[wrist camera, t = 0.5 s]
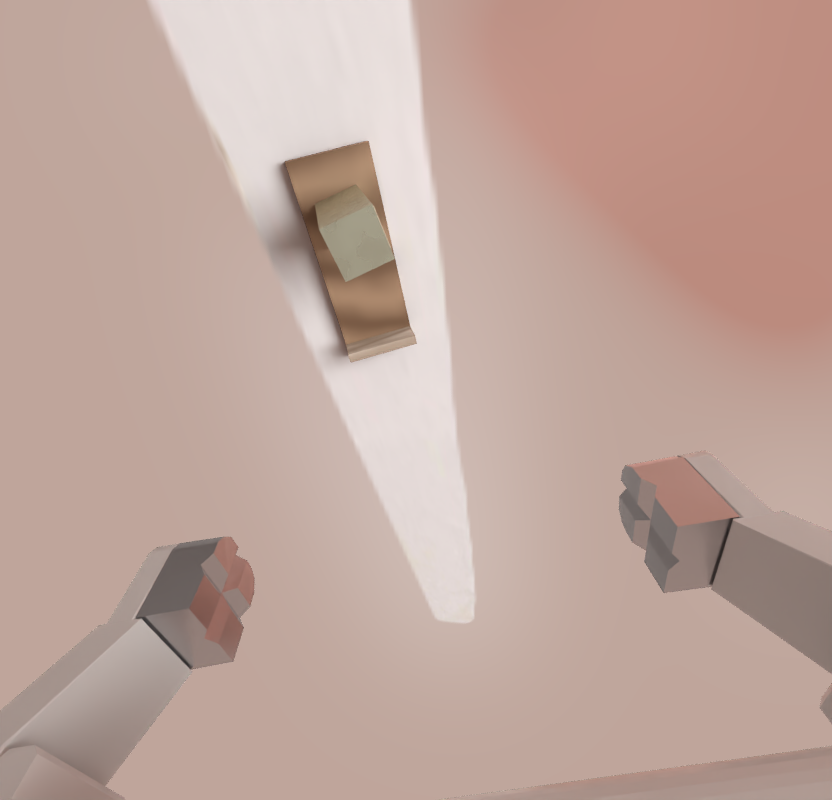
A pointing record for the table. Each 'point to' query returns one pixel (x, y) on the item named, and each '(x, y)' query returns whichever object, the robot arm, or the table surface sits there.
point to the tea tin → (353, 232)
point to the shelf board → (353, 300)
